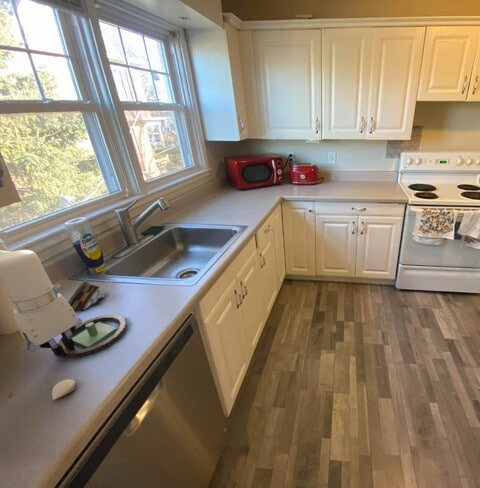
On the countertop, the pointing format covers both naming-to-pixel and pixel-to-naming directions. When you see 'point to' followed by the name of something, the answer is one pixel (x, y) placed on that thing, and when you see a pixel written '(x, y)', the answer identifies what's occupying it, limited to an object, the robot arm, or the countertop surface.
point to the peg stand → (93, 334)
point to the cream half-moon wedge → (63, 388)
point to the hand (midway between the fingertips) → (66, 352)
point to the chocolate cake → (86, 295)
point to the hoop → (102, 345)
